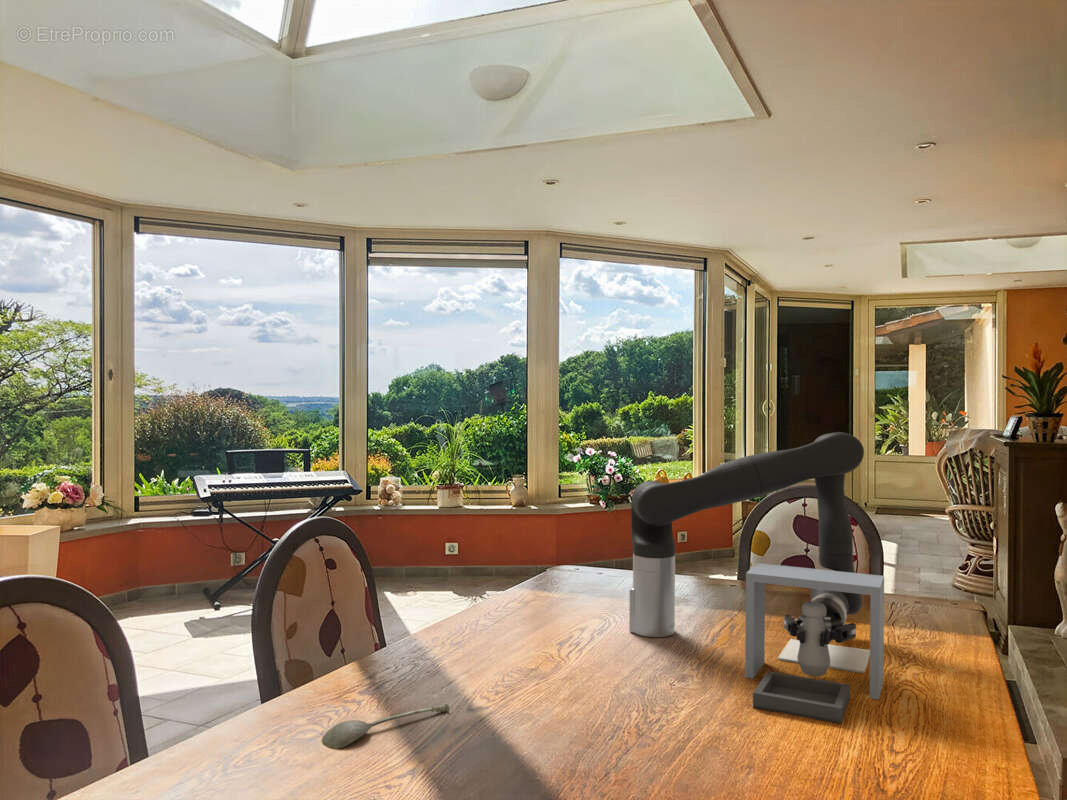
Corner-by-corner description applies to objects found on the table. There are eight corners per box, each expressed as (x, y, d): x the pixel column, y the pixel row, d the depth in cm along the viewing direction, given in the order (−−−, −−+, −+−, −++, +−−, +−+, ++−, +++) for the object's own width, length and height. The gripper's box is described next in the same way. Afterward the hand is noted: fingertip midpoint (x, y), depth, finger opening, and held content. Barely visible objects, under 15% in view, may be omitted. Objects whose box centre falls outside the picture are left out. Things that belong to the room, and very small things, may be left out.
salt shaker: (832, 679, 146) (833, 608, 146) (799, 677, 147) (799, 606, 147) (827, 668, 152) (827, 599, 151) (795, 666, 153) (796, 598, 153)
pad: (777, 659, 160) (777, 657, 160) (790, 640, 172) (790, 638, 172) (864, 673, 152) (864, 671, 152) (871, 652, 165) (871, 650, 165)
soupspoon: (313, 744, 123) (330, 762, 118) (313, 723, 123) (330, 740, 118) (438, 706, 136) (458, 720, 131) (438, 686, 136) (458, 700, 131)
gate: (745, 677, 150) (745, 573, 150) (756, 661, 159) (757, 563, 159) (878, 699, 139) (879, 587, 139) (883, 681, 148) (884, 575, 148)
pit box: (752, 707, 136) (753, 692, 135) (767, 684, 146) (767, 671, 146) (841, 723, 129) (841, 708, 129) (849, 698, 140) (849, 684, 140)
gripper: (789, 592, 165) (772, 613, 150) (862, 601, 159) (853, 624, 143) (789, 629, 165) (772, 653, 150) (862, 639, 159) (852, 666, 143)
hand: (811, 639), depth 147 cm, fingers closed on salt shaker, 3 cm apart
